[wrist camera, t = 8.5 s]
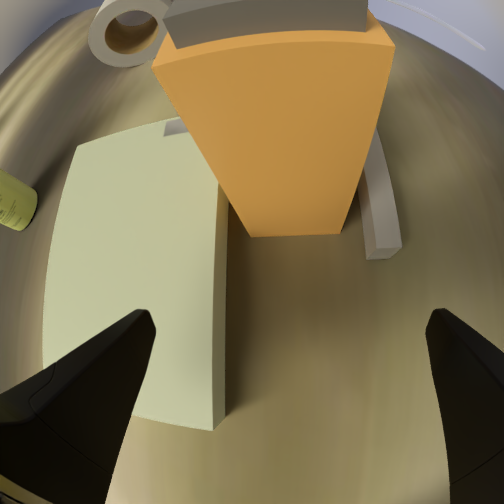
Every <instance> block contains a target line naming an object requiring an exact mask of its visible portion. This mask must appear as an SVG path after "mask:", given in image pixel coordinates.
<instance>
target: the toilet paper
mask: <svg viewBox="0 0 504 504" xmlns="http://www.w3.org/2000/svg"><path fill="white" fill-rule="evenodd" d="M171 4H172V3H171V0H105V1H104V3H103V4H102V6H101V8H100V9H99V11H98V13H97V15H96V17H95V18H94V20H93V22H92V24H91V26H90V29H89V34H88V42H89V46H90V49H91V51H92V52H93V54H94V55H95V56H96V57H97V58H98V59H99V60H100V61H102V62H104V63H106V64H108V65H111V66H116V67H132V66H137V65H141V64H144V63H146V62H148V61H150V60H152V59H154V58H156V55H157V53H158V51H159V49H160V47H161V44H162V42H163V40H164V38H165V36H166V34H167V32H168V30H167V28H166V26H165V24H164V22H163V20H162V19H163V17H164V15H165V14H166V12H167V10H168V9H169V7H170V6H171ZM131 10H141V11H145V12H148V13H150V14H151V15H152V16H153V17H152V18H151V19H150V20H149V21H147V22H146V23H144V24H141V25H138V26H125V25H122V24H121V23H119V22H118V21H117V20H116V18H115V17H116V16H118V15H119V14H121V13H124V12H126V11H131Z"/></svg>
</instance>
